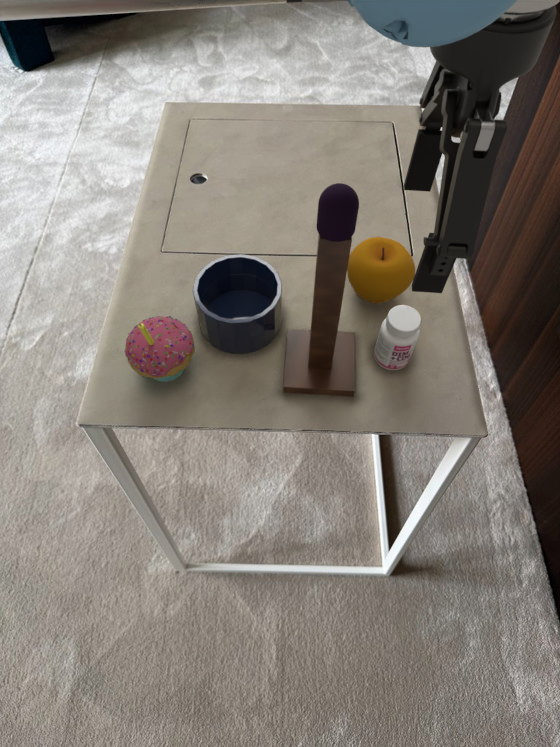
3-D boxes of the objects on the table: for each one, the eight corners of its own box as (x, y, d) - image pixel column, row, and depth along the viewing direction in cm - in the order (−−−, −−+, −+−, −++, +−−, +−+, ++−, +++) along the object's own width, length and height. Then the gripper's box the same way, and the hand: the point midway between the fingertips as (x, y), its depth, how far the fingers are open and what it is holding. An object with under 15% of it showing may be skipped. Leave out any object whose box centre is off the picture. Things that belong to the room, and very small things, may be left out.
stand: (282, 392, 69) (284, 261, 48) (287, 334, 74) (290, 192, 53) (353, 397, 69) (385, 267, 48) (353, 338, 73) (382, 197, 53)
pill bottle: (389, 377, 70) (401, 340, 63) (366, 351, 72) (375, 313, 65) (417, 360, 72) (432, 322, 64) (394, 335, 74) (406, 295, 66)
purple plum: (315, 241, 50) (319, 201, 46) (317, 213, 52) (320, 173, 48) (355, 243, 50) (361, 203, 46) (355, 215, 51) (361, 175, 48)
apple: (416, 285, 78) (431, 239, 70) (390, 328, 74) (403, 285, 66) (359, 261, 81) (368, 214, 73) (331, 302, 77) (338, 257, 69)
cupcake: (182, 402, 68) (165, 349, 58) (121, 383, 70) (94, 328, 59) (208, 348, 72) (197, 290, 62) (150, 331, 74) (130, 271, 64)
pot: (194, 352, 72) (186, 320, 66) (206, 286, 78) (200, 251, 72) (278, 357, 72) (278, 325, 66) (284, 290, 78) (284, 256, 72)
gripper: (607, 114, 28) (475, 342, 47) (526, -85, 41) (447, 155, 60) (463, 105, 29) (387, 337, 47) (428, -90, 42) (379, 151, 60)
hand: (421, 235), depth 53 cm, fingers open, 13 cm apart
